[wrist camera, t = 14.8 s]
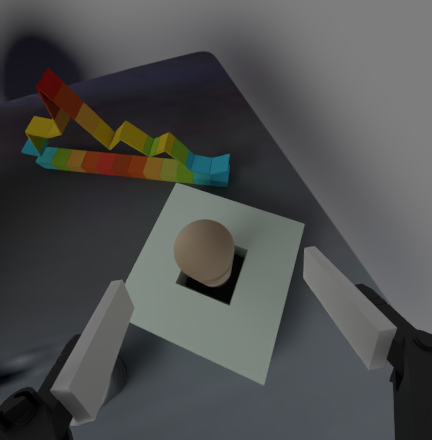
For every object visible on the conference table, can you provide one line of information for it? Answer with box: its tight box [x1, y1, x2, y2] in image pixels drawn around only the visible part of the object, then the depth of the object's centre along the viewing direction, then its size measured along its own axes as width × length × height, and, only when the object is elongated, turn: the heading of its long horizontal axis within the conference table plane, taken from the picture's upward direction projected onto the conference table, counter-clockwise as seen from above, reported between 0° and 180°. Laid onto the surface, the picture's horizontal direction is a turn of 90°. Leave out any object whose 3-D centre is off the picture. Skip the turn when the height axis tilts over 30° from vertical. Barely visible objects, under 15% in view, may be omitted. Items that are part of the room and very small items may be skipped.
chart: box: [21, 68, 230, 187], centre depth 26 cm, size 30×3×15 cm, turn 82°
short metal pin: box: [70, 357, 127, 426], centre depth 21 cm, size 4×4×5 cm
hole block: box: [125, 183, 305, 385], centre depth 24 cm, size 16×16×5 cm
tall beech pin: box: [174, 219, 235, 288], centre depth 20 cm, size 4×4×14 cm
